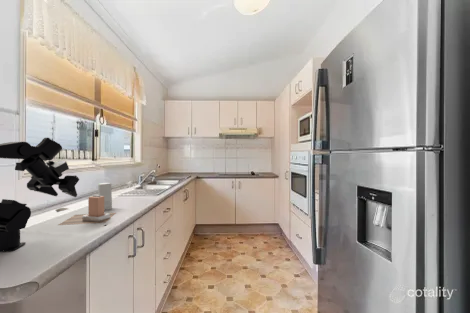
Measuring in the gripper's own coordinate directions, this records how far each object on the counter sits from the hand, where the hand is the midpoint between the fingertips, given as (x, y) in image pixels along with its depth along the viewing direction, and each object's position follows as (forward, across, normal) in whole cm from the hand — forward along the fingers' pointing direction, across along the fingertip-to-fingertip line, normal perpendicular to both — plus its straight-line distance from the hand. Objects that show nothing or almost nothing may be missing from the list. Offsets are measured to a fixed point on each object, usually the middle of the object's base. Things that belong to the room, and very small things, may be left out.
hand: (66, 195), depth 100 cm
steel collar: (+17, -4, 0) cm, 17 cm away
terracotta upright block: (+17, -4, 0) cm, 17 cm away
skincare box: (+33, +9, -13) cm, 37 cm away
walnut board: (+18, 0, +1) cm, 18 cm away
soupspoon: (+24, +25, -4) cm, 35 cm away
